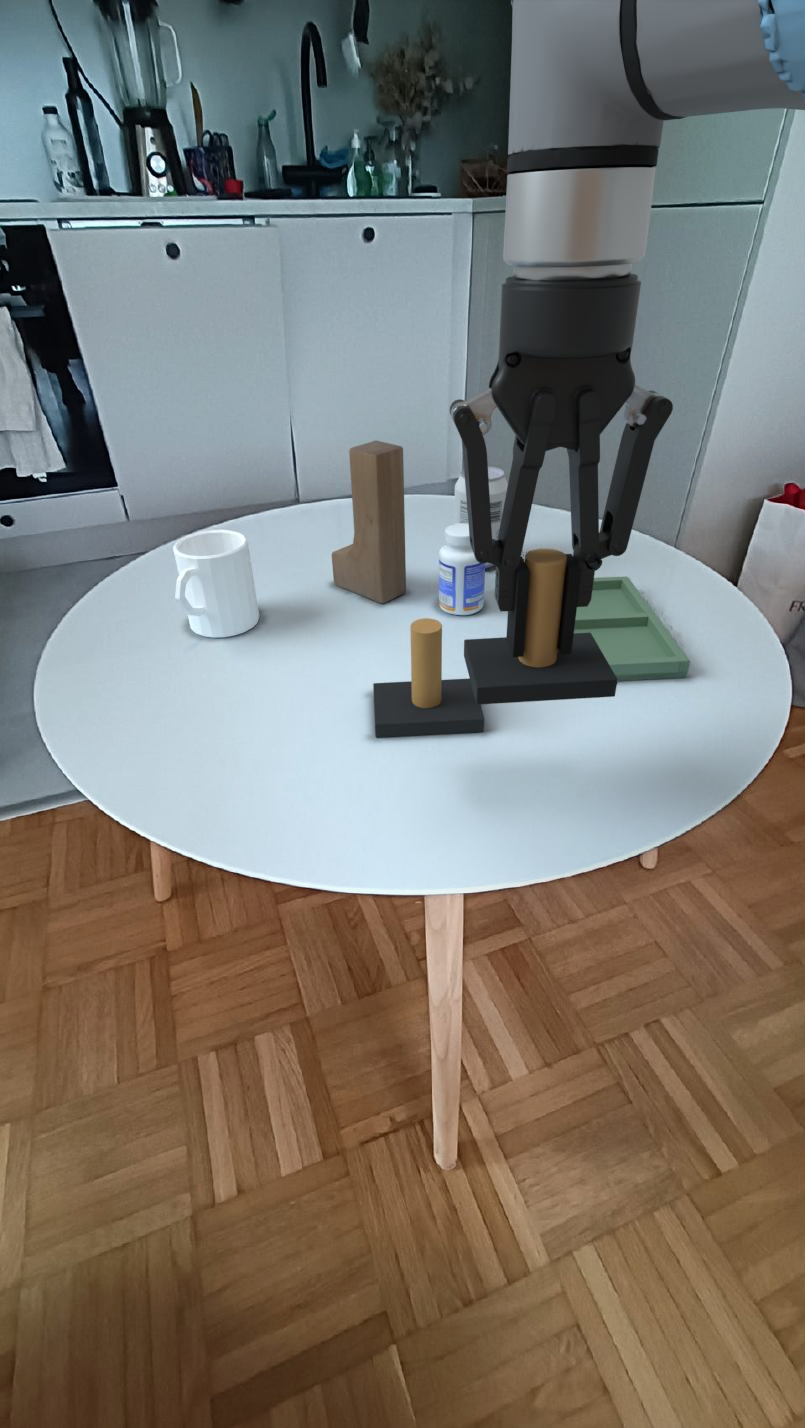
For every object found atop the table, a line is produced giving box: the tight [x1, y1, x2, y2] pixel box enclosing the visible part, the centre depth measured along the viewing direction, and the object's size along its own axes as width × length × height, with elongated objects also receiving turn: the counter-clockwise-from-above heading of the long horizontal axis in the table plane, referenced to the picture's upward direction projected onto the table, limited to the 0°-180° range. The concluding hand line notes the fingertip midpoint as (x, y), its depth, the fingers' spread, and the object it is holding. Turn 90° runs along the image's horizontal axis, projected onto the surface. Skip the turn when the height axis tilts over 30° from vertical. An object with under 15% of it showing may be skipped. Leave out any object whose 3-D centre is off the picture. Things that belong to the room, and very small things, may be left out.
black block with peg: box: [372, 617, 485, 738], centre depth 66 cm, size 7×10×10 cm
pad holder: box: [574, 576, 691, 682], centre depth 80 cm, size 20×14×2 cm
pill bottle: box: [438, 523, 486, 616], centre depth 84 cm, size 5×5×10 cm
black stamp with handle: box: [463, 548, 618, 705], centre depth 51 cm, size 7×10×10 cm
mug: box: [172, 529, 260, 639], centre depth 81 cm, size 8×12×10 cm
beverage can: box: [453, 466, 508, 569], centre depth 94 cm, size 7×7×12 cm
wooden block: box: [331, 440, 407, 604], centre depth 86 cm, size 9×4×18 cm, turn 47°
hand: (538, 645), depth 53 cm, fingers closed on black stamp with handle, 3 cm apart
